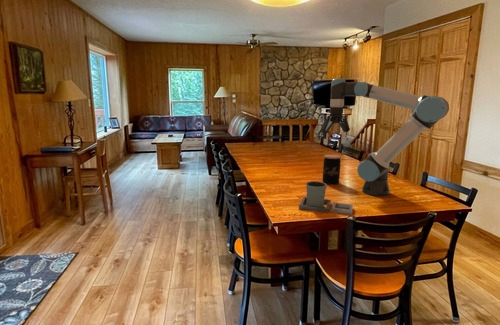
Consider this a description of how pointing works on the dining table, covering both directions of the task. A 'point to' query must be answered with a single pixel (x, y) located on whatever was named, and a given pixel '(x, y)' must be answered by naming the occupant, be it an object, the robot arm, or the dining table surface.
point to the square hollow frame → (314, 208)
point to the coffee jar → (331, 169)
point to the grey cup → (315, 193)
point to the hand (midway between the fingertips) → (334, 143)
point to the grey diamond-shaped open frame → (342, 211)
